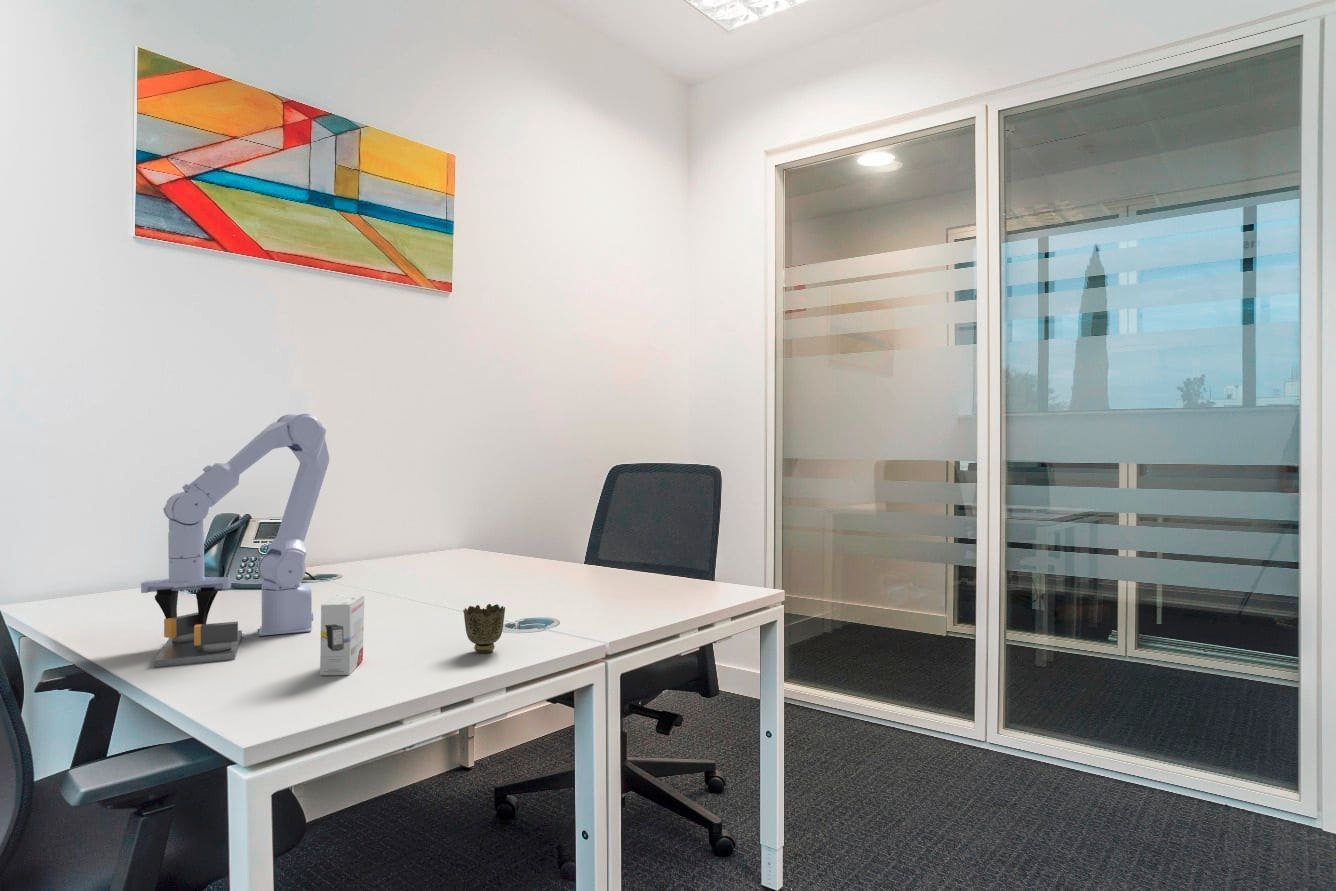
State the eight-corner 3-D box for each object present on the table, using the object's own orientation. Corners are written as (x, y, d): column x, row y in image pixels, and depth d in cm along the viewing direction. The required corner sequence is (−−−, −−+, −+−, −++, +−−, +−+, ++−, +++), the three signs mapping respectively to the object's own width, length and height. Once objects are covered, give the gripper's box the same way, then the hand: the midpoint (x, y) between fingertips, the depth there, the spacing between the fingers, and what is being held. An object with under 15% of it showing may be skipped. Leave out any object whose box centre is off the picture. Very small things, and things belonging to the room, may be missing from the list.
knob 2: (238, 643, 145) (238, 619, 145) (236, 649, 141) (236, 624, 141) (196, 647, 142) (196, 623, 142) (193, 653, 138) (193, 628, 138)
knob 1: (193, 634, 152) (193, 611, 152) (209, 636, 150) (209, 613, 150) (159, 642, 145) (159, 618, 145) (175, 645, 144) (175, 620, 144)
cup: (463, 658, 140) (463, 613, 140) (463, 647, 147) (463, 604, 147) (506, 655, 142) (506, 610, 142) (503, 645, 149) (503, 602, 149)
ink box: (335, 662, 137) (335, 594, 137) (365, 661, 138) (365, 593, 138) (318, 677, 129) (318, 604, 129) (350, 676, 129) (350, 604, 129)
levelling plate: (241, 636, 155) (241, 621, 155) (234, 659, 139) (234, 642, 139) (170, 642, 150) (170, 627, 150) (154, 667, 134) (154, 649, 134)
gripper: (133, 561, 142) (134, 636, 142) (223, 558, 146) (223, 631, 146) (149, 555, 149) (150, 627, 149) (233, 552, 153) (234, 622, 153)
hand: (187, 628), depth 148 cm, fingers closed on knob 1, 4 cm apart
